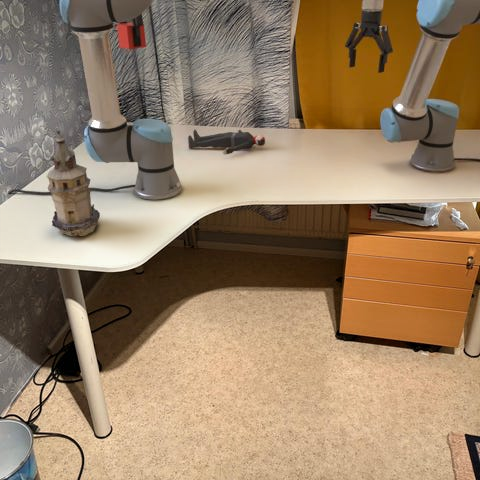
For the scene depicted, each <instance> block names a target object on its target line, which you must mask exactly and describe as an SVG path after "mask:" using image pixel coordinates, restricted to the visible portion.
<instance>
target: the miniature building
mask: <svg viewBox="0 0 480 480" xmlns="http://www.w3.org/2000/svg"><path fill="white" fill-rule="evenodd" d="M56 134H57V136H56V138H55V140H54V141H55V142H56V147H55V154H54V156H52V157H51V161H52V162H53V165H54V167H53V168H51V169H50V170H49V171H48V173H47V174H46V178H47V179H48V182H49V184H48V186H47V190H48V192H51V193H52V194H51V200H52V201H53V205H54V209H55V211H53V217H52V220H51V223H52V225H51V227H54V228H56V229H58V230H59V231H60V234H63V235H64V234H65V235H66V236H69V237H77V236H80V237H83V236H87V235H88V234H90V233H93V232H94V231H95V229H96V226H97V225H98V223H99V220H100V216H101V213H100V212H99V210H98V209H96V208H95V204H92V201H91V200H92V199H91V198H92V197H91V192H92V190H90V189H89V188H90V184H91V178H89V177H88V174H87V167H85V166H84V165H83V166H82V165H80V164H77V160H76V154H75V151H74V150H70V149H69V147H68V145H67V143H66V138H65V137H64V136H63V135H61V130H60V129H56Z"/></svg>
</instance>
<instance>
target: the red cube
mask: <svg viewBox="0 0 480 480" xmlns="http://www.w3.org/2000/svg"><path fill="white" fill-rule="evenodd" d="M135 24H136V23H135ZM132 26H133V23H132V21H131V22H128V23H123V24H120V23H117V24H116V27H117V28H116V29H117V37H118V45H119V48H121V49H126V50H135V49H136V50H137V49H143V48H146V47H147V42H146V31H145V23H143V26H141V27H140V34H141V46H138V47H134V42H133V32H132Z"/></svg>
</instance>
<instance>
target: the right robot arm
mask: <svg viewBox="0 0 480 480" xmlns="http://www.w3.org/2000/svg"><path fill="white" fill-rule="evenodd" d="M384 1H385V0H362V1H361V9H362V10H361V12H360V21H361V22H360V21H359V22H354V23H353V27H352V30H351V31H350V34H349V36H348V37H347V40H346V41H345V44H344V47H345V48H347V49H348V59H349V65H348V68H350V69H351V68H355V67H356V59H357V58H356V57H357V49H356V48H357V46H358V45H359V44H360V43H361V41H362V40H363V39H364V38H367V37H368V38H372V39H373V40H374V41H375V43H376V45H377V47H378V49H379V51H380V52H381V54H380V55H379V60H378V70H377V73H379V74H381V73H385V66H386V64H387V63H388V56H389V54H393V52H394V48H393V45H392V42H391V38H390V35H389V26H388V25H382V24H381V22H382V19H383V9H384ZM416 10H417V12H416V20H417V22H418V24H419V30H420V31H421V32H422V33H421V35H420V38H419V41H418V44H417V46H416V49H415V52H414V55H413V57H412V60H411V63H410V67H409V69H408V72H407V75H406V77H405V80H404V83H403V85H402V89H401V91H400V94H399V96H397V97H395V98H394V99H393V101H392V104H391V105H390V107H386V108H384V109H382V111H381V113H380V120H379V121H380V129H381V132H382V135H383V137H384V139H385V140H386V141H387V142H388V143H403V142H412V141H418V143H417V145H416V147H415V150H414V151H413V154H412V155H411V157H410V162H409V164H410V166H411V167H413V168H414V169H416V170H418V171H422V172H426V173H433V174H435V173H436V174H440V173H448V172H451V171H453V170H454V169H455V164H456V161H471V162H480V158H470V157H455V155H454V153H455V152H454V141H455V137H456V131H457V126H458V121H459V119H460V117H459V115H460V108H459V105H457V104H456V103H455V102H452V101H448V100H445V99H444V100H443V99H437V98H429V96H430V94H431V90H432V89H433V86H434V83H435V81H436V79H437V76H438V73H439V71H440V69H441V66H442V63H443V61H444V58H445V56H446V53H447V51H448V49H449V47H450V43H451V41H452V40H455V39H456V38H457V37H459V35H460V32H461V30H462V28H463V26H467V25H478V24H480V0H418V3H417V5H416ZM359 30H360V32H359Z"/></svg>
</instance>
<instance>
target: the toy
mask: <svg viewBox="0 0 480 480" xmlns="http://www.w3.org/2000/svg"><path fill="white" fill-rule="evenodd" d="M187 142H188V148H189V149H190V150H192V149H196V148H203V149H206V148H216V149H217V148H224V150H222V153H223V155H224V156H226V155H231V154H233V153H234V152H238V151H241V150H242V151H249V150H252V149H253V148H254V146H259V147H262V146H264V145H265V144H266V137H265V136H263V135H255V136H253V134H252V133H250V132H249V131H242V130H241V129H237V130H236V132H231V131H228V132H222V133H221V132H220V133H215V134H209V135H203V136H201V135H200V134H199V133H198V131H197V129H193V136H192V135H190V134H189V135H188V137H187Z"/></svg>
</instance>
